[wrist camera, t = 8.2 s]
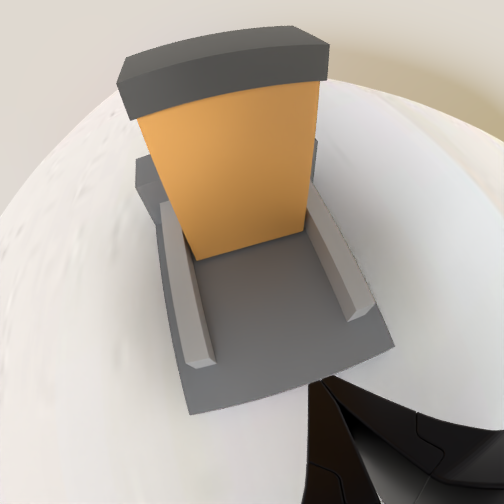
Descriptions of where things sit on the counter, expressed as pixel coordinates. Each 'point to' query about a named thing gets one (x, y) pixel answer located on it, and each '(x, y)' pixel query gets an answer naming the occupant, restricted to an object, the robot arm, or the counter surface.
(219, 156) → the handle
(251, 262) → the base
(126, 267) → the counter surface
